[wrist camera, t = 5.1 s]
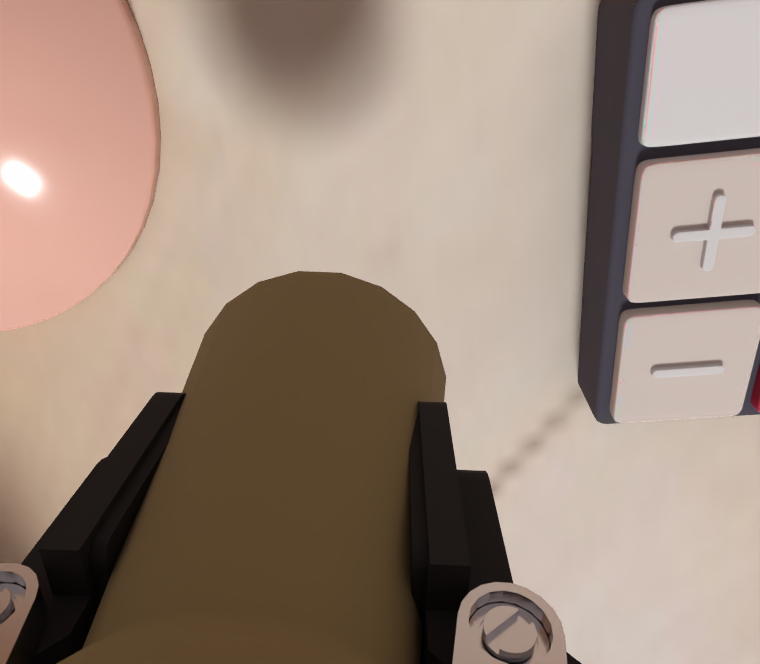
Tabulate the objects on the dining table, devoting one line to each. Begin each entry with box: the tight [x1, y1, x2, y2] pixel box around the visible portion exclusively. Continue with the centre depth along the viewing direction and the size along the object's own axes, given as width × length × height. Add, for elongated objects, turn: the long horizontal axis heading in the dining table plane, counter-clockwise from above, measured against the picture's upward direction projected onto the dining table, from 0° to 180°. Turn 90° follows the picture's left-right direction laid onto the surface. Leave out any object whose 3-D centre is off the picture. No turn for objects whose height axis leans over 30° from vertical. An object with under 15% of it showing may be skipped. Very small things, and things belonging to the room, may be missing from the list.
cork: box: [57, 271, 446, 664], centre depth 9 cm, size 6×6×11 cm
